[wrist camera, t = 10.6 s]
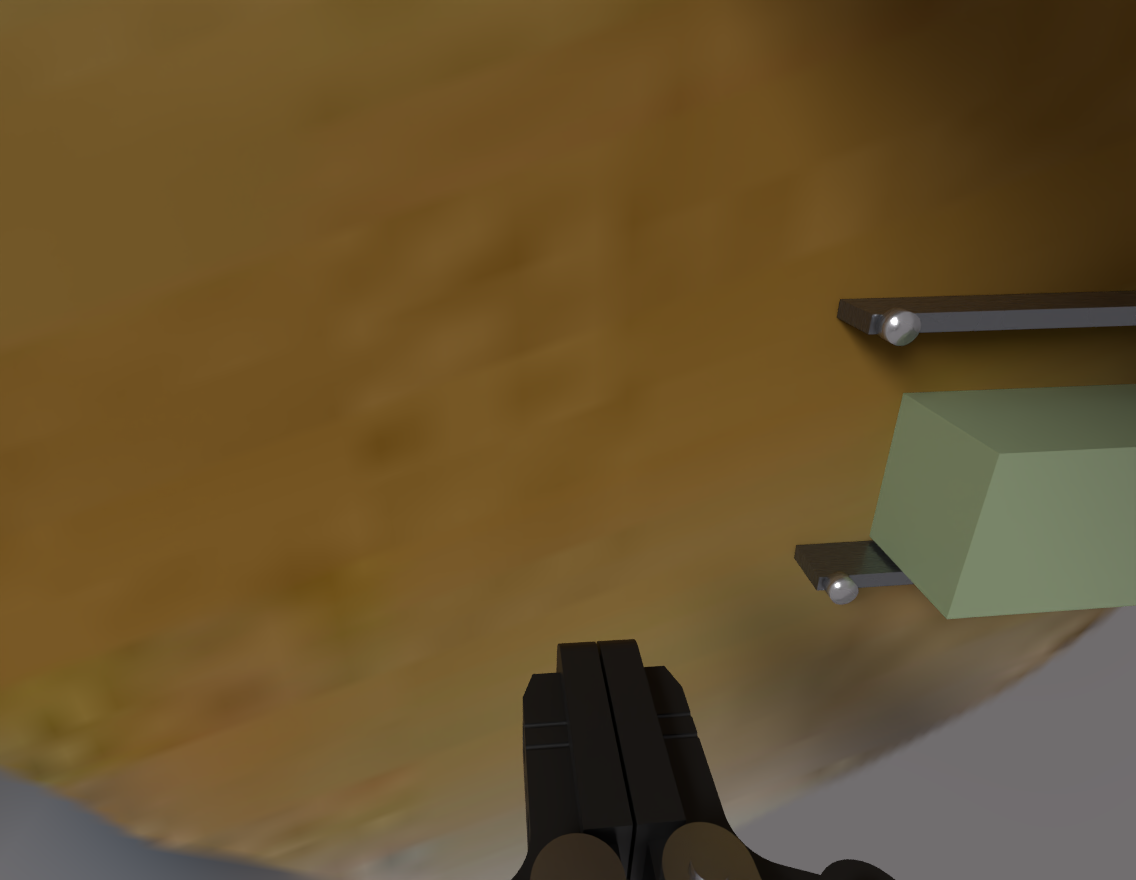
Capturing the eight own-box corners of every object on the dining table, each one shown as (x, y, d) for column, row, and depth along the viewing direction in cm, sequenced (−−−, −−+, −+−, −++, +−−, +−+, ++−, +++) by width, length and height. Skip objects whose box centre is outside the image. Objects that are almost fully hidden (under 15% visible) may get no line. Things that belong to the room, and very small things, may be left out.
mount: (841, 293, 21) (884, 313, 18) (1224, 282, 22) (1311, 299, 19) (793, 562, 25) (823, 605, 23) (1112, 541, 26) (1171, 581, 24)
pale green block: (899, 391, 23) (999, 453, 18) (1158, 380, 23) (1315, 437, 19) (867, 533, 25) (946, 619, 21) (1101, 519, 26) (1226, 598, 22)
